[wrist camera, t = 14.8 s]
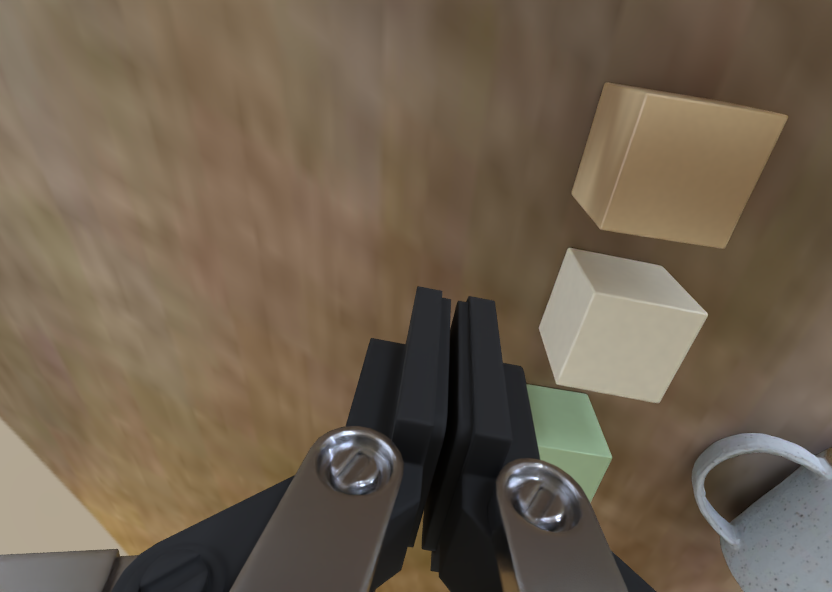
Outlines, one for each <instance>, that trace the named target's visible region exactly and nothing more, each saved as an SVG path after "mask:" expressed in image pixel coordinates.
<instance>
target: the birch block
mask: <svg viewBox="0 0 832 592" xmlns="http://www.w3.org/2000/svg"><path fill="white" fill-rule="evenodd" d="M787 119H788V116H787V115H785V114H780V113H775V112H771V111H766V110H761V109H757V108H752V107H747V106H743V105H738V104H733V103H729V102H724V101H719V100H714V99H708V98H702V97H695V96H689V95H683V94H677V93H670V92H664V91H658V90H652V89H645V88H639V87H633V86H627V85H620V84H614V83H608V82H607V83H605V84H604V87H603V90H602V93H601V97H600V100H599V103H598V107H597V110H596V113H595V116H594V120H593V123H592V126H591V130H590V133H589V136H588V140H587V143H586V146H585V150H584V153H583V156H582V160H581V163H580V166H579V170H578V173H577V176H576V179H575V183H574V186H573V189H572V196H573V197H574V198H575V199H576V200H577V202H578V203H579V204H580V205H581V207H582V208H583V209H584V210H585V212H586V213H587V214H588V215H589V216H590V218H591V219H592V220H593V221H594V223H595V224H596V225H597V226H598V228H599V229H601V230H605V231H611V232H618V233H624V234H631V235H637V236H643V237H650V238H656V239H663V240H669V241H676V242H682V243H688V244H695V245H701V246H708V247H714V248H721V249H724V248H725V247H726V245H727V243H728V241H729V239H730V237H731V235H732V233H733V231H734V229H735V227H736V224H737V222H738V220H739V218H740V216H741V214H742V212H743V210H744V208H745V206H746V204H747V202H748V200H749V198H750V196H751V193H752V191H753V189H754V187H755V185H756V183H757V181H758V179H759V177H760V175H761V173H762V171H763V169H764V167H765V165H766V163H767V160H768V158H769V156H770V154H771V152H772V150H773V148H774V146H775V144H776V142H777V140H778V138H779V136H780V134H781V132H782V130H783V127H784V125H785V123H786V121H787Z"/></svg>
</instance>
